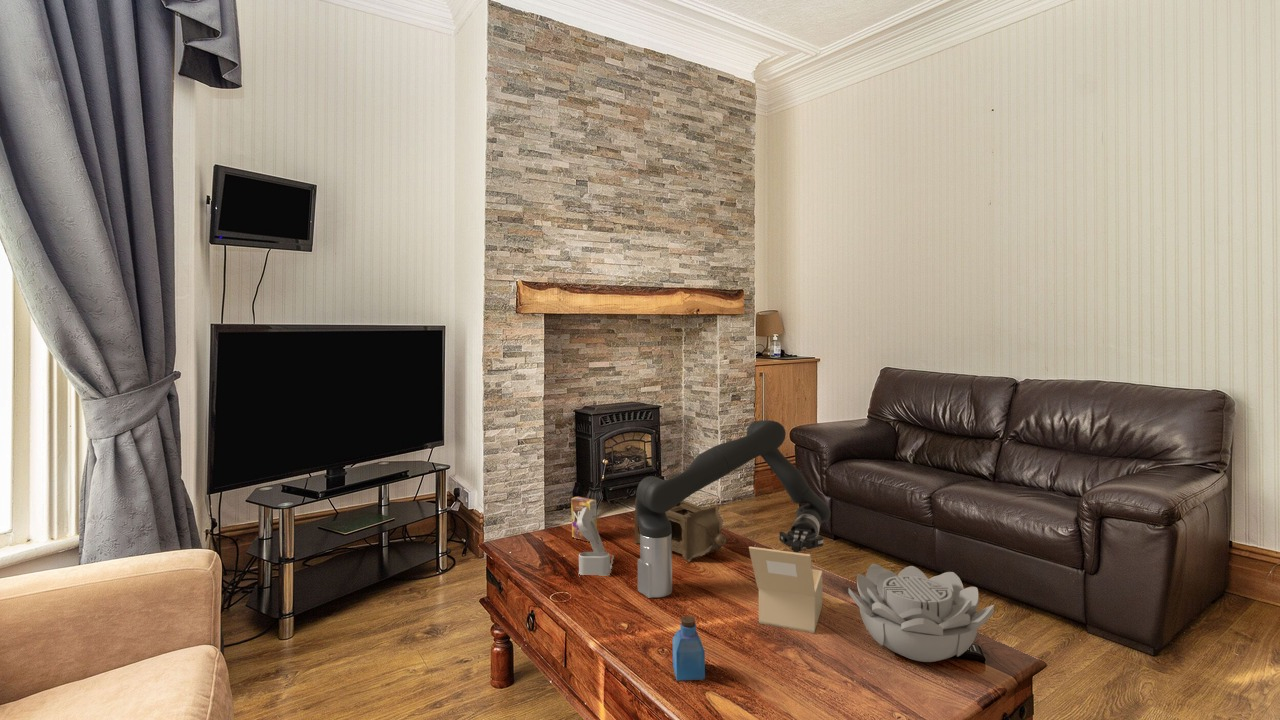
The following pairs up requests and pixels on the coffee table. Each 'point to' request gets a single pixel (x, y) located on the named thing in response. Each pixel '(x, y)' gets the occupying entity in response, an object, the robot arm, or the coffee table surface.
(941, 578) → the decorative bowl
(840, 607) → the coffee table surface
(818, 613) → the cardboard carton
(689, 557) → the brown lantern
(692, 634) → the perfume bottle
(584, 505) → the candy box
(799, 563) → the lid flap
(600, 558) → the phone holder
